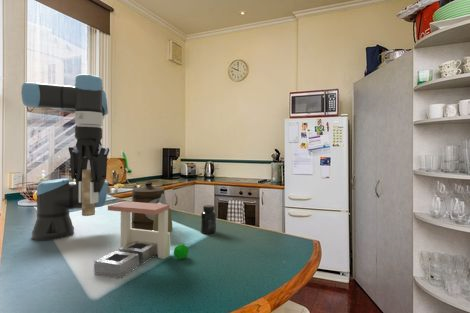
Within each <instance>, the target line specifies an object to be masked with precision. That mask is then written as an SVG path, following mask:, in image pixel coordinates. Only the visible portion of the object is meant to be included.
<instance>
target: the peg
mask: <svg viewBox="0 0 470 313" xmlns="http://www.w3.org/2000/svg"><path fill="white" fill-rule="evenodd" d="M91 181H92V174H91V169H83V170H82V208H81V215H82V217H89V216H90V217H91V216H94V215H95V214H96V207H95V203H93V204H90V182H91Z"/></svg>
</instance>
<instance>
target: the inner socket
mask: <svg viewBox="0 0 470 313" xmlns="http://www.w3.org/2000/svg"><path fill="white" fill-rule="evenodd" d="M118 251H120V252H127V253H135V254H139V263H142V264H141V265H143V263H144V262H145V263H146V261H147V260H148V261H150V260H151V259H153V258H154V257H156V256H158V255H157V243H149V242H141V241H133V242H131V243H129V244H127V245H125V246H123V247H122V248H121V247H119V248H118ZM155 255H156V256H155ZM153 256H154V257H153ZM152 257H153V258H152ZM150 258H151V259H150ZM149 259H150V260H149ZM148 261H147V262H148ZM145 263H144V264H145Z"/></svg>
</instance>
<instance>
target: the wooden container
mask: <svg viewBox="0 0 470 313" xmlns="http://www.w3.org/2000/svg"><path fill="white" fill-rule="evenodd" d="M131 193H132V195H131V196H132V197H131V202H141V203H153V204H157V203H159V202H160V200H161V196H162V194H165V188H164V187H161V186H160V187H159V186H153V181H152V180H146V181H145V182H144V186H141V187H135V188H133V189H132V191H131ZM153 223H154V215H153V214H142V213H132V212H131V228H133V229H142V230H151V231H152V230H153Z"/></svg>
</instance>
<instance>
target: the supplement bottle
mask: <svg viewBox="0 0 470 313" xmlns="http://www.w3.org/2000/svg"><path fill="white" fill-rule="evenodd" d="M202 209H203V210H202V212H201V214H200V233H201V234H203V235H204V236H207V235H208V236H211V235H214V234H216V233H217V212H215V206H214V205H212V204H205V205H203V208H202Z"/></svg>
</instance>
